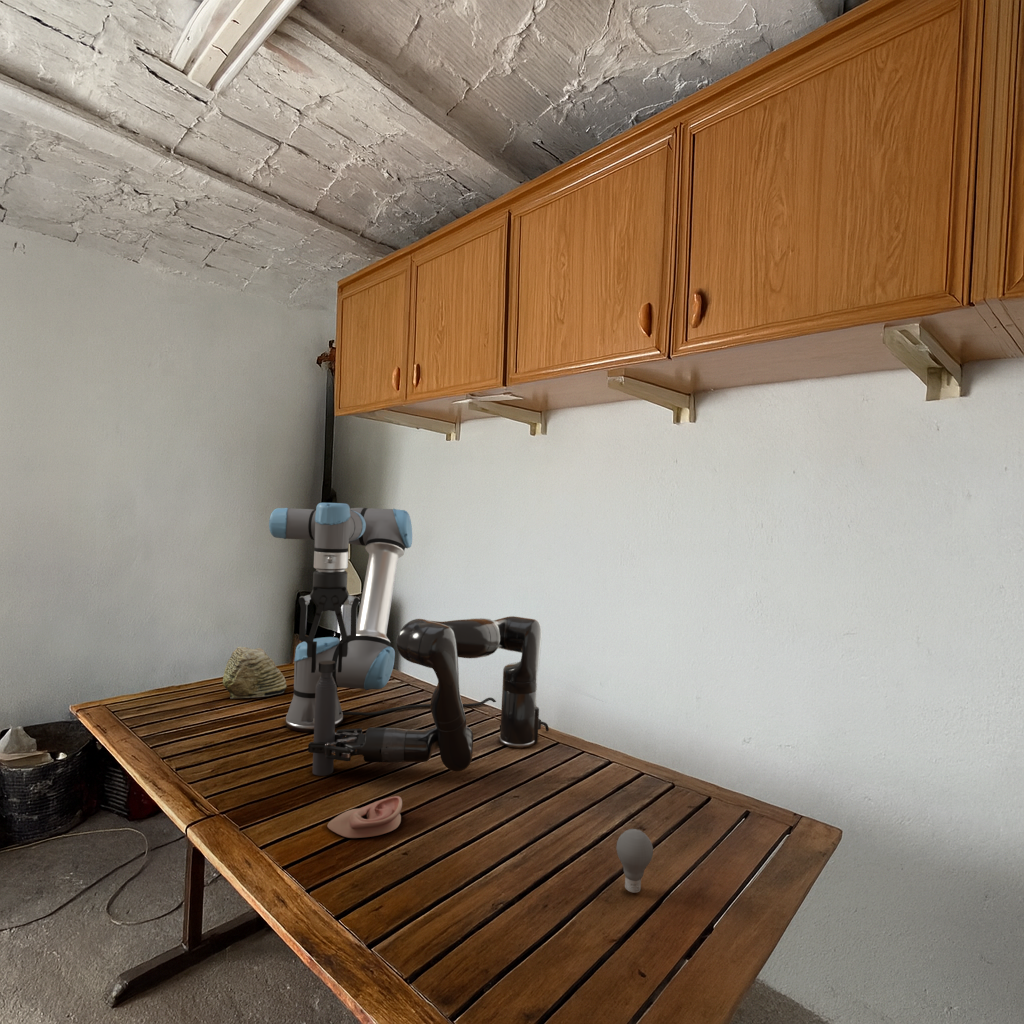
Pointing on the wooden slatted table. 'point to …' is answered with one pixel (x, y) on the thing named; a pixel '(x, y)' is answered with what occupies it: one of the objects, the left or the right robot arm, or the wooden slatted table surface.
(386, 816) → the anatomical model
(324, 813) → the wooden slatted table surface
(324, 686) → the bottle
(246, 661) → the fossil
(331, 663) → the cap
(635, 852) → the light bulb
